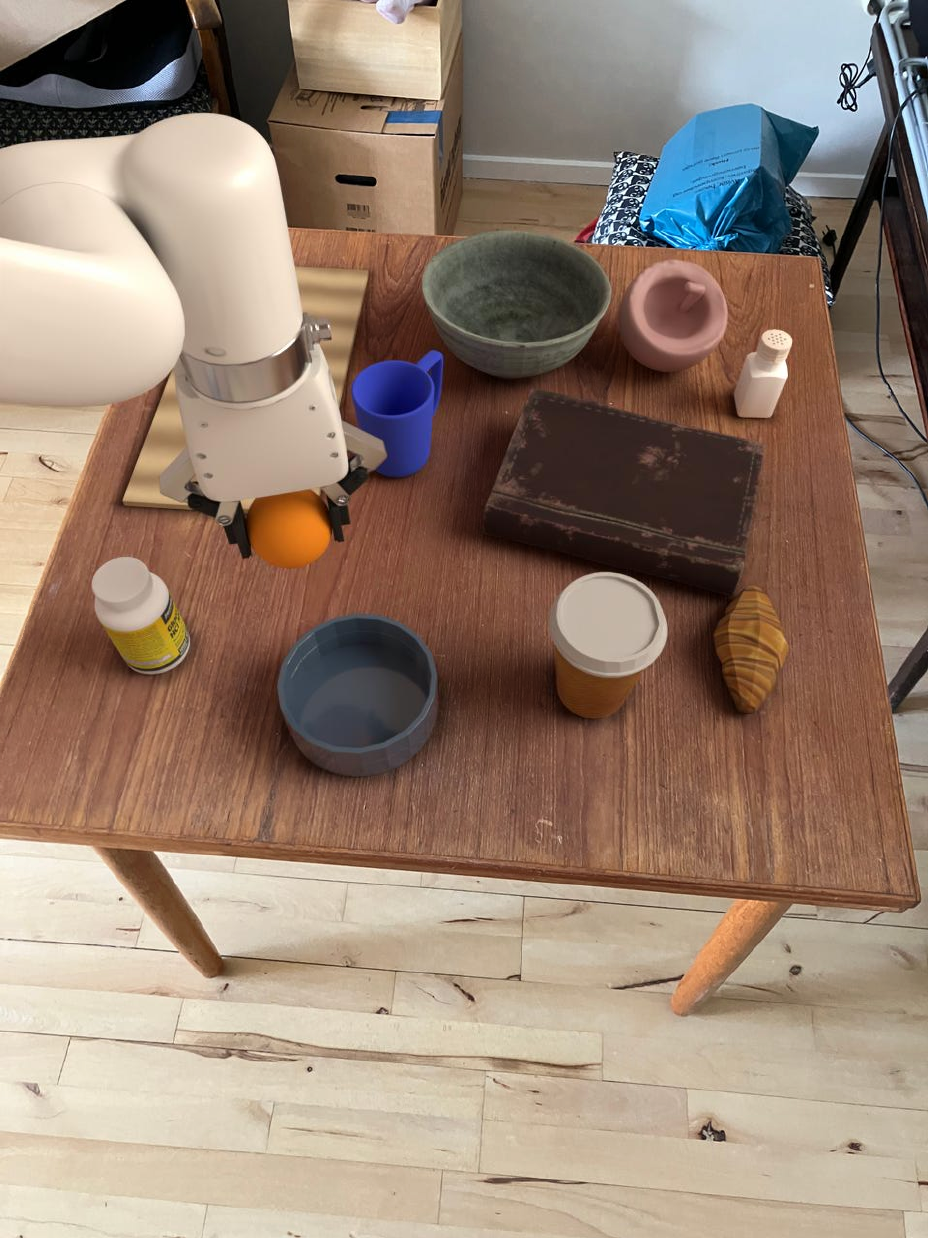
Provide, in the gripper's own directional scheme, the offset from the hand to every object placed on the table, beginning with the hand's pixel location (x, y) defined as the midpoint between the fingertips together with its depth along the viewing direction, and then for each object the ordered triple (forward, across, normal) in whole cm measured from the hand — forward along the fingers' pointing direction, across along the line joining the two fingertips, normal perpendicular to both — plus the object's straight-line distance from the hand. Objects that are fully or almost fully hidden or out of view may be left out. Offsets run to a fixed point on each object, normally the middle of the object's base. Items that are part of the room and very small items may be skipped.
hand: (291, 534), depth 67 cm
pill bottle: (+18, +15, -4) cm, 23 cm away
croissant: (+18, -38, +9) cm, 43 cm away
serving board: (+17, +2, -38) cm, 42 cm away
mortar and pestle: (+18, -45, -31) cm, 57 cm away
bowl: (+18, -28, -36) cm, 49 cm away
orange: (-1, 0, 0) cm, 1 cm away
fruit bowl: (+17, -3, +6) cm, 19 cm away
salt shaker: (+17, -52, -21) cm, 59 cm away
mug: (+18, -13, -24) cm, 32 cm away
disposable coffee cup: (+18, -23, +9) cm, 31 cm away
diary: (+18, -33, -11) cm, 39 cm away
